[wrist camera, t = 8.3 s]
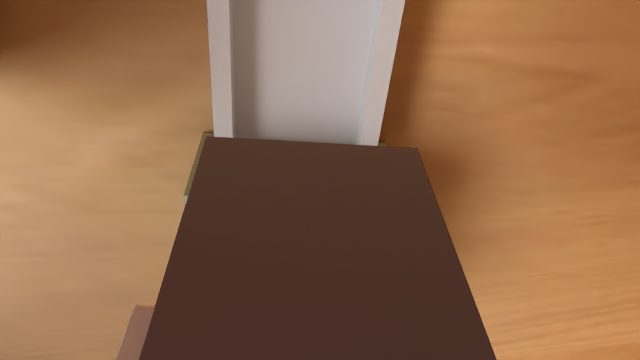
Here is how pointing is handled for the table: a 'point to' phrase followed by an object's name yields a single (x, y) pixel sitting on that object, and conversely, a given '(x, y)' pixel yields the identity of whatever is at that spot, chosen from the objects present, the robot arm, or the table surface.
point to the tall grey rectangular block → (313, 260)
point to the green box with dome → (300, 69)
